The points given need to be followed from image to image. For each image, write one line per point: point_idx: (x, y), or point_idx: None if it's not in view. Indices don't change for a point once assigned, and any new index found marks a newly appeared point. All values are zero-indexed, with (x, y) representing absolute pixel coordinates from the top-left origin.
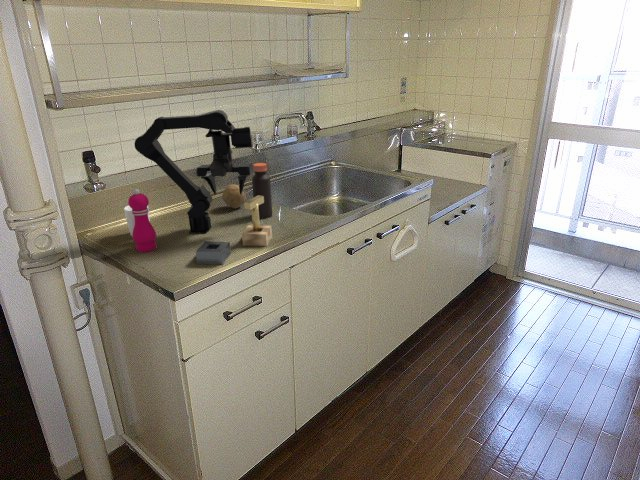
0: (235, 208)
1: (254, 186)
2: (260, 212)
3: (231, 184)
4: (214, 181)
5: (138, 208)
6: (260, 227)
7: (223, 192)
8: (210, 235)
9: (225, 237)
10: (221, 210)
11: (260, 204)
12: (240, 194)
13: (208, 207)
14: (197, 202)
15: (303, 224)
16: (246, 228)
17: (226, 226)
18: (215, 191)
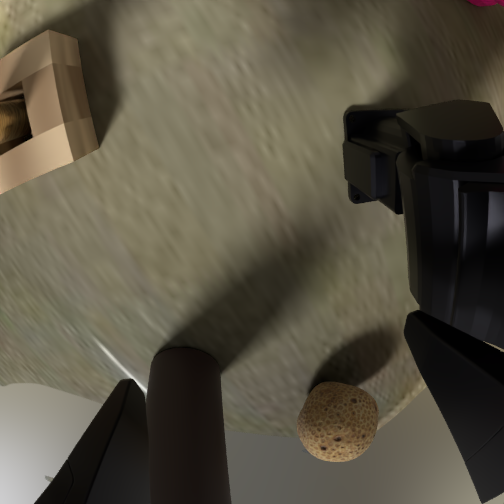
0: (320, 383)
1: (197, 476)
2: (174, 366)
3: (354, 457)
4: (465, 434)
5: None
6: (5, 157)
7: (376, 419)
8: (309, 96)
9: (213, 87)
10: (364, 359)
11: (169, 396)
12: (307, 433)
13: (403, 164)
14: (497, 129)
15: (14, 324)
16: (56, 107)
17: (283, 230)
18: (421, 340)
